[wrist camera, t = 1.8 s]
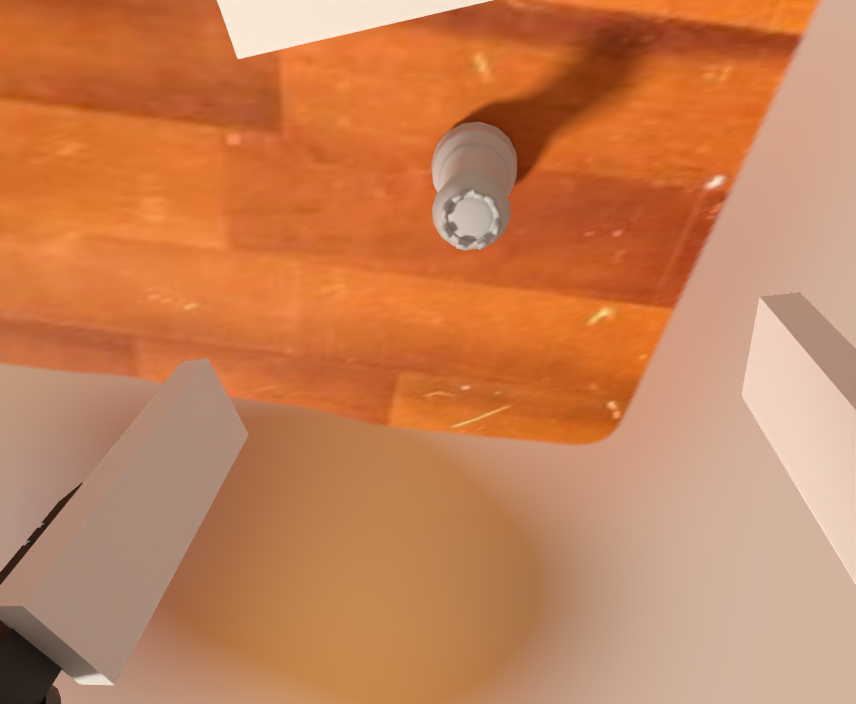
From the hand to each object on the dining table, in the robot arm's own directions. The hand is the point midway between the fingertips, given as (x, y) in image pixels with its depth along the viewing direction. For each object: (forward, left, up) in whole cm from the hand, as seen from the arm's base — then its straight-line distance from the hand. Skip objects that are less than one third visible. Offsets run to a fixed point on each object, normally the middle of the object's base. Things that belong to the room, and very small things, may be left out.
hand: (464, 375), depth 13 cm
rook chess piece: (0, 0, -18) cm, 18 cm away
